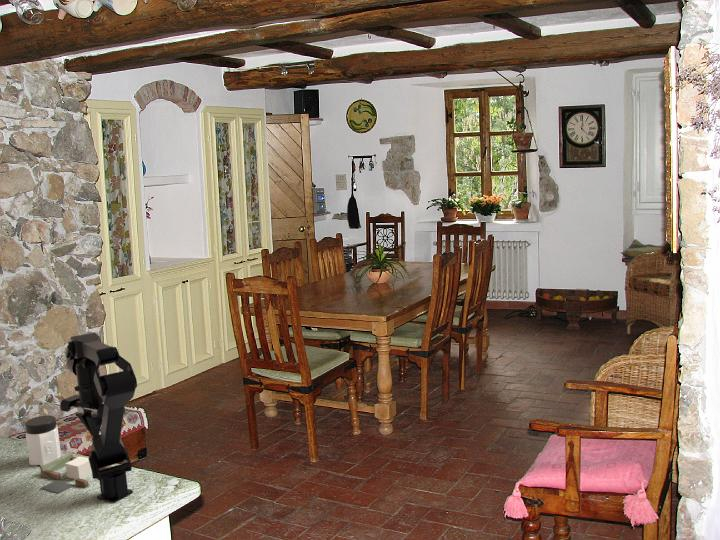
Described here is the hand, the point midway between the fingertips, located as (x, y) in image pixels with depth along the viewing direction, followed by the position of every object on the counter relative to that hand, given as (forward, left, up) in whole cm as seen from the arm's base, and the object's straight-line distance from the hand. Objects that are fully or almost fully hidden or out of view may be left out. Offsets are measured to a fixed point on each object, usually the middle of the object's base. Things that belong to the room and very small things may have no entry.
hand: (95, 437), depth 199 cm
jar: (+26, -3, -12) cm, 29 cm away
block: (+8, 0, -12) cm, 15 cm away
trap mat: (+8, +8, -12) cm, 16 cm away
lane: (+9, 0, -12) cm, 15 cm away
